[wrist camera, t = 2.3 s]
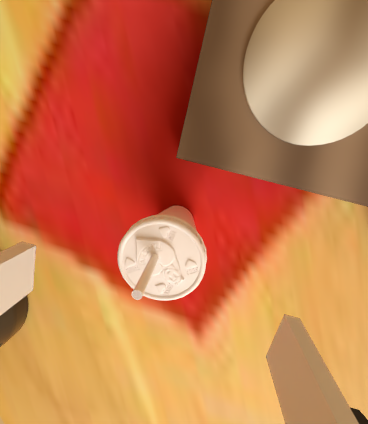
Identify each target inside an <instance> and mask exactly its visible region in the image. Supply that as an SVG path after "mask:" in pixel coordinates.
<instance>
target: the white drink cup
mask: <svg viewBox="0 0 368 424" xmlns="http://www.w3.org/2000/svg"><path fill="white" fill-rule="evenodd" d="M206 262H207V255H206V248H205V245H204V242H203V240H202V238H201V236H200V235H199V234H198V232H197V231H196V227H195V223H194V220H193V216H192V214H191V213H190V211H189V210H188V209H186V208H184V207H182V206H171V207H169V208H167V209H166V210H164V211H162V212H161V213H159V214H157V215H152V216H149V217H146V218H144V219H141V220H140V221H138V222H137V223H135V224H134V225H132V227H131V228H130V229H129V230H128V232H127V233H126V234H125V235H124V237H123V239H122V240H121V242H120V245H119V249H118V265H119V269H120V271H121V274H122V276H123V278H124V279H125V281H126V282H127V283H128V284H129V285H130V286H131V287H132V288H133V289H134V290H133V292H132V297H133V298H134V299H136V300H139V299H141V298H142V296H146V297H148V298H151V299H155V300H174V299H178V298H181V297H184V296H186V295H187V294H189V293H190V292H192V291H193V290H194V289H195V288H196V287H197V286H198V285H199V283H200V282H201V280H202V278H203V276H204V273H205V268H206Z"/></svg>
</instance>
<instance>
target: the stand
mask: <svg viewBox="0 0 368 424" xmlns="http://www.w3.org/2000/svg"><path fill="white" fill-rule="evenodd" d="M176 158H179V159H183V160H187V161H191V162H195V163H199V164H203V165H207V166H211V167H215V168H219V169H222V170H226V171H230V172H234V173H238V174H242V175H246V176H250V177H254V178H258V179H262V180H266V181H269V182H273V183H277V184H281V185H285V186H289V187H293V188H297V189H301V190H305V191H309V192H313V193H317V194H320V195H324V196H328V197H332V198H336V199H340V200H344V201H348V202H352V203H356V204H360V205H364V206H367V207H368V0H212V4H211V8H210V12H209V17H208V21H207V25H206V30H205V34H204V39H203V43H202V47H201V52H200V56H199V61H198V65H197V69H196V74H195V78H194V82H193V87H192V91H191V96H190V100H189V104H188V109H187V113H186V117H185V122H184V126H183V131H182V135H181V139H180V144H179V148H178V152H177V157H176Z"/></svg>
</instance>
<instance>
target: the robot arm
mask: <svg viewBox="0 0 368 424" xmlns="http://www.w3.org/2000/svg"><path fill="white" fill-rule="evenodd" d="M35 252H36V245H32V244H29V243H25V242H20V243H18V244H16V245H14V246H12V247H10V248H8V249H5V250H3V251H1V252H0V347H1V346H2V345H3V344H5V343H6V342H7V341H8V340H9V339H10V338H11V337H12V336H13V335H14V334H15V333H16V332H17V331H19V330H20V328H21V327H22V326H23V324H24V322H25V320H26V317H27V312H28V301H27V294H29V293H30V292H31V291H33V282H34V267H35ZM266 358H267V362H268V365H269V369H270V372H271V376H272V379H273V383H274V386H275V389H276V393H277V396H278V400H279V403H280V407H281V410H282V414H283V417H284V420H285V424H368V420H367V419H366V417H365V416H364V415H363V414H362V413H361V412H360V411H359V410H357V409H354V408H350V407H349V405H348V403H347V402H346V400H345V398H344V396H343V395H342V393H341V391H340V389H339V387H338V386H337V384H336V382H335V380H334V379H333V377H332V375H331V373H330V371H329V370H328V368H327V366H326V364H325V363H324V361H323V359H322V357H321V355H320V354H319V352H318V350H317V348H316V347H315V345H314V343H313V341H312V340H311V338H310V336H309V334H308V332H307V331H306V329H305V327H304V325H303V324H302V322H301V320H300V318H296V317H293V316H289V315H285V314H284V317H283V319H282V321H281V323H280V326H279V328H278V330H277V332H276V335H275V337H274V339H273V341H272V344H271V346H270V348H269V351H268V353H267V355H266Z"/></svg>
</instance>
